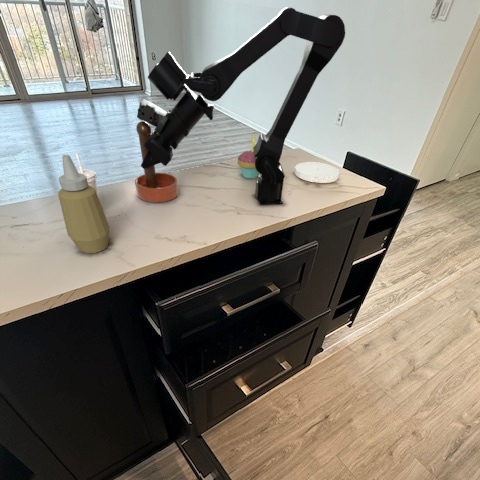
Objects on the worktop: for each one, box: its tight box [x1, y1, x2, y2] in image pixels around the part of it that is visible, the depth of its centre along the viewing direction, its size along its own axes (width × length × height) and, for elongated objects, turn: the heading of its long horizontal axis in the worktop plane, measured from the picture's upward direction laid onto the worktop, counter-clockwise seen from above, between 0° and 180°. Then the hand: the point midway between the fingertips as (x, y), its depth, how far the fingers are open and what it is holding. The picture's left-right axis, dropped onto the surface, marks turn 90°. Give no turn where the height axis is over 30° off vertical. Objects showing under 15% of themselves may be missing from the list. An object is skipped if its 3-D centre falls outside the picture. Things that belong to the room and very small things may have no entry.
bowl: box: [134, 172, 179, 204], centre depth 86 cm, size 11×11×4 cm
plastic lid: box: [294, 161, 340, 184], centre depth 102 cm, size 14×14×2 cm
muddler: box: [135, 120, 160, 188], centre depth 81 cm, size 4×4×17 cm
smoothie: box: [74, 152, 99, 197], centre depth 73 cm, size 6×6×14 cm
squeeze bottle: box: [57, 154, 111, 254], centre depth 61 cm, size 8×8×18 cm
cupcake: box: [237, 131, 260, 179], centre depth 97 cm, size 9×8×12 cm
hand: (143, 165), depth 82 cm, fingers closed on muddler, 3 cm apart
